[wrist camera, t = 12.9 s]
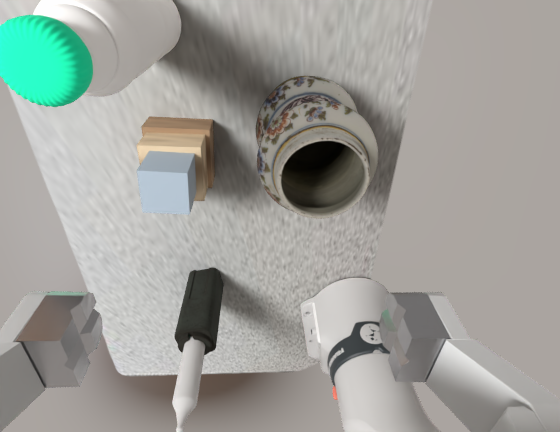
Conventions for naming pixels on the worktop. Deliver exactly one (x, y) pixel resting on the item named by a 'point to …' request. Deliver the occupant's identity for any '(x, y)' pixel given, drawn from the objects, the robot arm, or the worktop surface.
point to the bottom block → (186, 128)
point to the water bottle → (84, 47)
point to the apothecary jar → (314, 148)
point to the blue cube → (167, 182)
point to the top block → (181, 145)
